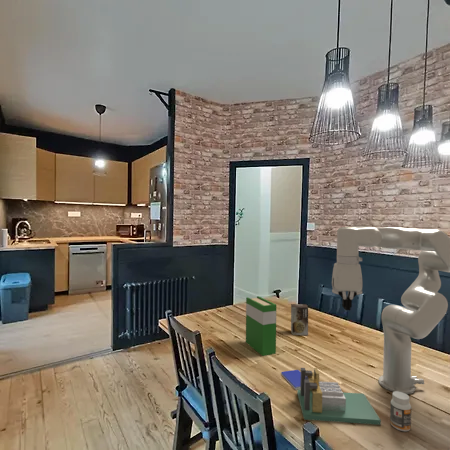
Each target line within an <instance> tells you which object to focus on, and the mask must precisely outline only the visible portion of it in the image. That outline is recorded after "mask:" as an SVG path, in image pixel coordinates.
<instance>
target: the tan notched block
mask: <svg viewBox="0 0 450 450" xmlns="http://www.w3.org/2000/svg"><path fill="white" fill-rule="evenodd" d="M312 373H313V376H306V380H309V381H310V382H312V383H317V386H318V389H311V388H310V391H312V412H317V413H322V391H321V389H320V386H319V381H320V372H319V369H318V368H317V367H313V371H312Z"/></svg>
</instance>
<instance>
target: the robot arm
mask: <svg viewBox="0 0 450 450" xmlns="http://www.w3.org/2000/svg"><path fill="white" fill-rule="evenodd" d="M336 232H337V233H336V262H335V263H334V264H333V268H332V274H331V276H332V277H331V286H332V287H331V288H332V290H331V292H332V293H333V294H336V295H338V296H340V297H341V299H342V300H341V305H342V306H341V307H342V308H343V310H345V311H351V308H352V307H353V304H352V302H353V299H354V298H355V297H356V296H358V295H362V294H363V275H362V268H361V267H362V266H361V264H360V262H363V257H360V256H359V252H360V251H359V250H360V249H359V247H365V248H366V247H367V248H374V247H377V248H384V249H388V250H389V249H392V250H404V251H405V250H407V251H408V250H409V251H411V250H412V251H420V252H419V254H418V258H417V261H418V269H419V270H418V271H419V272H418V276H417V277H416V278H415V280H414V281H412V283H411V284H410V286H409V287H408V288H406V290H404V292H403V294H402V295H401V298H400V301H401V302H400V303H401V304H402V305H403V306H402V305H401V306H400V305H396V304H389V305H387V306H385V307H384V308H383V309H382V312H381V324H382V327H383V328H382V329H383V358H382V359H383V363H382V365H383V368H382V370H383V371H382V372H383V373H382V375H380V376H379V377H378V383H379V385H380V386H382V388H384V389H386V390H388V391H389V392H392V393H393V392H395V391H399V392H403V393H405V394H407V395H410V394H413V393H415V392H416V386H415V385H425V379H424V378H418V377H417V375H412V340H411V338H412V339H416V340H420V339H421V340H422V339H424V338H426V337H427V336H429V334H430V333H431V332H432V331H433V330H434V329H435V328H436V327H437V325H438V324H439V323H440V322H441V321H442V319H443V318H444V317H445V316H446V314H447V311H448V307H449V304H448V303H449V302H448V299H447V298H446V296H444V295H443V293H440V292H439V290H440V289H441V288H442V280H441V278H440V273H439V271H440V272H445V273H450V236H449V235H448V234H447V233H445V232H444V231H442V230H441V229H427V228H426V229H425V228H423V229H422V228H407V227H394V226H393V227H392V226H391V227H389V226H388V227H372V226H351V227H348V226H347V227H344V226H343V227H339V228H337V231H336Z"/></svg>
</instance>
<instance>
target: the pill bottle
mask: <svg viewBox="0 0 450 450" xmlns="http://www.w3.org/2000/svg"><path fill="white" fill-rule="evenodd" d="M389 407H390V410H389V411H390V412H389V413H390V415H389V416H390V425H391V426H392V427H393V428H394V429H396V430H397V431H401V432H409V431H410V430H411V429H412V405H411V403H410V396H409V394H405V393H403V392H399V391H395V392H392V398H391V399H390V406H389Z"/></svg>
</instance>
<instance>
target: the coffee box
mask: <svg viewBox="0 0 450 450" xmlns="http://www.w3.org/2000/svg"><path fill="white" fill-rule="evenodd" d="M290 308H291V309H290V313H291V314H290V322H291V323H290V332H291V335H292V336H308V335H309V307H308V305H307V304H302V303H291V305H290Z"/></svg>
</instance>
